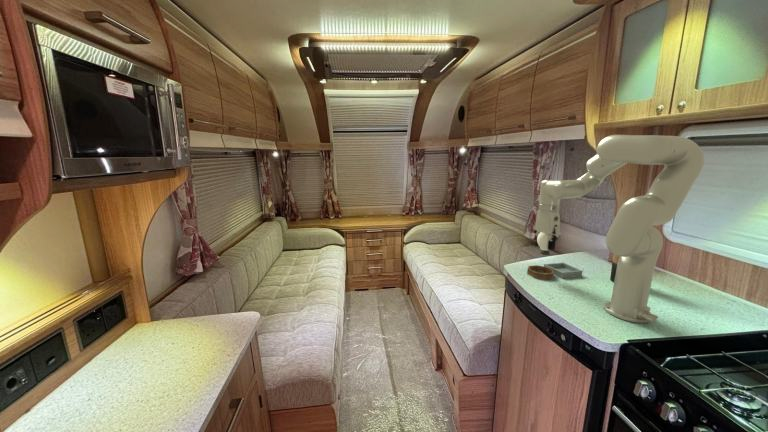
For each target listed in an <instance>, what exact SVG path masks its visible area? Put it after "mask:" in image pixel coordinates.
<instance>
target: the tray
mask: <svg viewBox="0 0 768 432" xmlns="http://www.w3.org/2000/svg"><path fill="white" fill-rule="evenodd" d="M543 266H544V267H548V268H550V269H552V270H554V273H553V276H556V277H558V278H559V279H566V278H567V279H569V278H577V277H583V270H582V269H579V268H577V267H575V266H572V265H570V264H567V263H566V262H555V263H554V262H553V263H544V264H543Z"/></svg>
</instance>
